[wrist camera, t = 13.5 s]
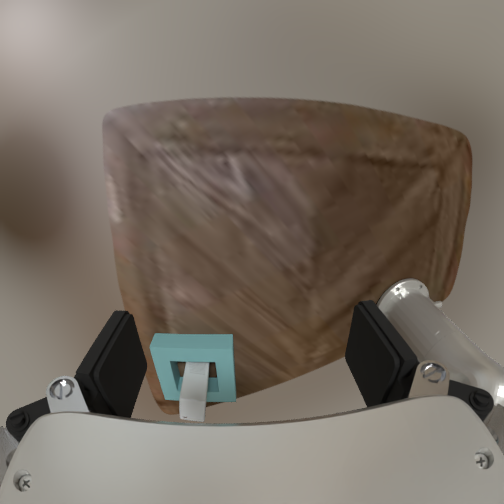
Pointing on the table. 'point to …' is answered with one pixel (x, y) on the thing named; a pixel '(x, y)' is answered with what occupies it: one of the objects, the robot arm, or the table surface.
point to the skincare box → (194, 391)
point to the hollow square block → (195, 350)
